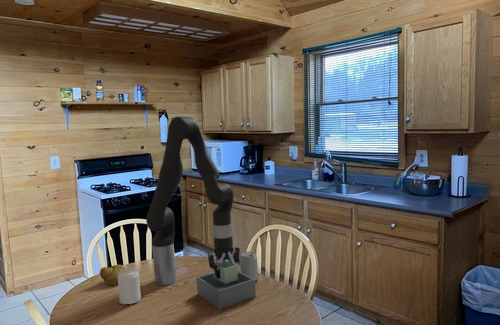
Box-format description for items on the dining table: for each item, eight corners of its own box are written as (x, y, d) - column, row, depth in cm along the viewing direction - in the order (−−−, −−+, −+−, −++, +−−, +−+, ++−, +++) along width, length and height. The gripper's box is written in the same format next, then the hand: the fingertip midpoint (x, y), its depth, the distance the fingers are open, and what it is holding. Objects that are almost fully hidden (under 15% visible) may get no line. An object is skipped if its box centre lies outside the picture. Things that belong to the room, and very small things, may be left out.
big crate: (197, 293, 162) (196, 277, 162) (231, 282, 172) (230, 267, 171) (220, 309, 148) (219, 291, 147) (255, 296, 158) (254, 279, 157)
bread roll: (116, 275, 188) (114, 258, 187) (134, 276, 185) (132, 259, 184) (98, 286, 176) (97, 268, 175) (117, 287, 173) (116, 269, 172)
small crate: (213, 277, 161) (212, 262, 161) (225, 273, 165) (225, 259, 164) (225, 283, 154) (224, 269, 153) (238, 279, 157) (237, 265, 157)
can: (256, 283, 170) (255, 256, 169) (239, 283, 171) (238, 256, 170) (259, 277, 177) (258, 251, 176) (243, 276, 179) (241, 250, 177)
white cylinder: (144, 297, 161) (142, 269, 160) (132, 306, 153) (130, 276, 152) (128, 295, 164) (125, 267, 163) (115, 304, 156) (112, 275, 155)
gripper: (232, 229, 165) (234, 268, 166) (202, 236, 156) (204, 277, 158) (243, 233, 159) (245, 273, 160) (212, 240, 150) (214, 283, 152)
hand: (225, 275), depth 159 cm, fingers closed on small crate, 6 cm apart
